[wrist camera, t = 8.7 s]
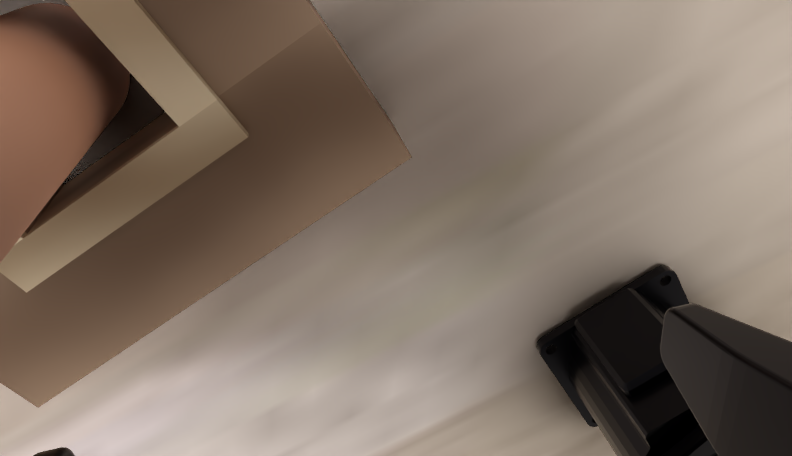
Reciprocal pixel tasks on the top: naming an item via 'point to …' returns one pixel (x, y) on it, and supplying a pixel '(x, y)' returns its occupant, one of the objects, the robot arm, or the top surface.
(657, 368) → the robot arm
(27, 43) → the peg
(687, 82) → the top surface
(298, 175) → the socket block
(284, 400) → the top surface
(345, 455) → the top surface
